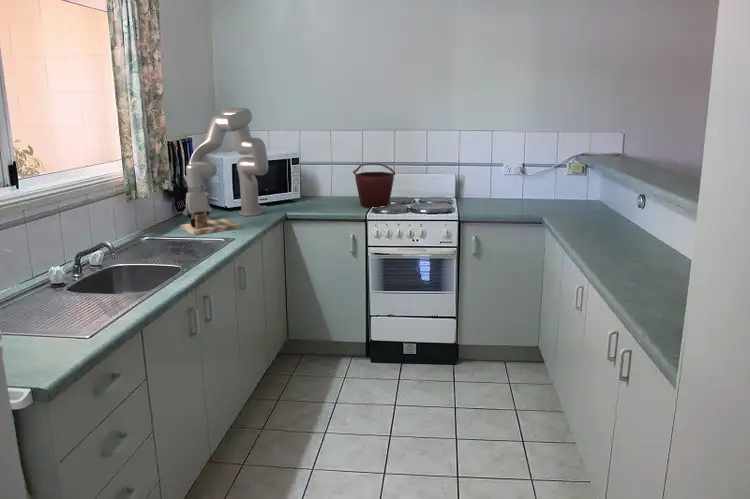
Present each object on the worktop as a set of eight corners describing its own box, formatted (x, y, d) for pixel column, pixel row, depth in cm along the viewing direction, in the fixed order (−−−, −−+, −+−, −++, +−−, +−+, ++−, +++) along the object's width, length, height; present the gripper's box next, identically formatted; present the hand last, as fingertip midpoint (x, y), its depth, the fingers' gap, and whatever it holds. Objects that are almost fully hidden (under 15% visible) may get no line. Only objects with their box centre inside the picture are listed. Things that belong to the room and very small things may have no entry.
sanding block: (200, 223, 314) (199, 211, 313) (207, 227, 307) (206, 214, 306) (190, 225, 311) (189, 212, 310) (197, 228, 304) (196, 215, 303)
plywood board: (225, 222, 327) (224, 218, 327) (240, 228, 313) (240, 224, 313) (180, 228, 313) (180, 224, 313) (194, 235, 299) (193, 231, 299)
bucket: (348, 207, 364) (347, 164, 357) (363, 200, 384) (363, 160, 377) (387, 210, 355) (387, 166, 348) (400, 203, 374) (401, 161, 368)
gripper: (209, 186, 312) (212, 222, 317) (176, 190, 302) (179, 227, 307) (215, 188, 307) (218, 224, 311) (181, 192, 297) (185, 229, 302)
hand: (199, 225), depth 309 cm, fingers closed on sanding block, 5 cm apart
